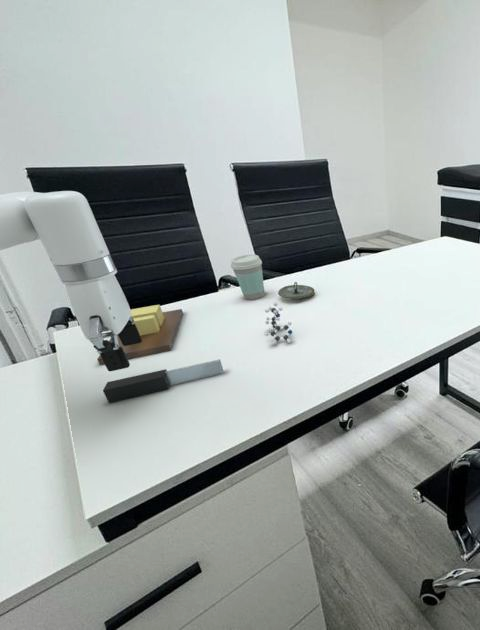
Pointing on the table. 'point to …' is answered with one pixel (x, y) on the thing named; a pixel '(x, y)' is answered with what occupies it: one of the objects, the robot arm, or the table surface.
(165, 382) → the knife
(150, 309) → the butter block
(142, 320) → the butter slice
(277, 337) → the molecule model
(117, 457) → the table surface
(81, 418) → the table surface
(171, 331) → the board
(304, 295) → the lid
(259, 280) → the coffee cup
